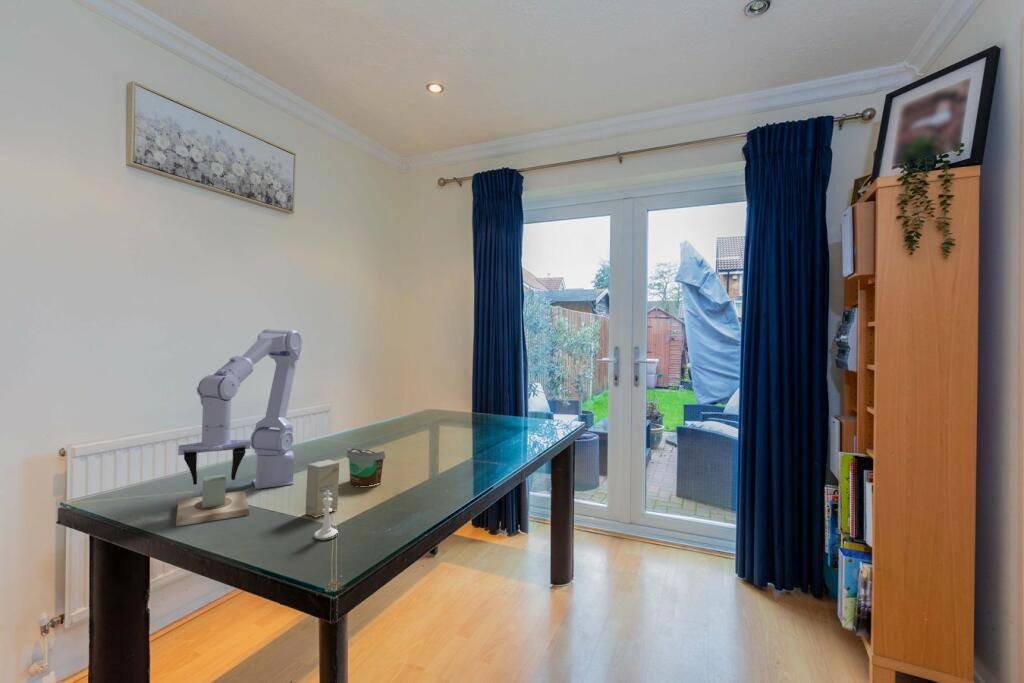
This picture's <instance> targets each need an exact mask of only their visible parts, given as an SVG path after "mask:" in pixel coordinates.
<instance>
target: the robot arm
mask: <svg viewBox="0 0 1024 683" xmlns="http://www.w3.org/2000/svg"><path fill="white" fill-rule="evenodd" d="M302 346H303V339H302V337H301V334H300V332H299V331H298V330H295V329H291V330H285V329H270V328H264V329H263V330H262V331H261V332H260V333H259V334H257V338H256V341H255V342H254V343H253V345H252V346H250V348H248V350H246V352H244V353H243V355H241V356H239V355H237V356H231V357H230V358H229V360H228V361H227V362H226V364H224V365H223V366H221V368H219V369H217V370H216V371H215V373H214V374H209V375H205V377H203V378H202V379H201V380H200V381H199V383H198V386H197V387H196V392H197V395H198V396H199V398H200V404H201V406H202V420H201V421H202V422H201V423H202V424H201V425H202V426H201V442H196V443H195V442H194V443H188V444H179V445H178V450H177V451H178V453H177V455H178V456H183V460H184V462H185V464H186V465H187V467H188V469H189V471H190V473H191V477H192V484H193V486H195V485H198V472H197V468H198V467H197V460H198V454H199V453H211V452H213V453H214V452H222V451H231V450H232V463H231V464H232V466H231V472H230V473H231V474H230V478H231V481H235V480H236V476H237V472H238V469H239V466H240V464H241V462H242V460H244V457H245V454H246V453H247V452H246V450H250V449H251V448H252V449H253V450H254V454H256V471H255V473H256V474H255V475H256V476H255V478H254V479H253V480H252V482H253V486H254V488H255V490H259V489H267V488H275V487H281V486H282V487H283V486H291V485H293V484H294V466H295V465H294V464H295V458H294V457H295V455H294V451H293V450H290V449H291V447H292V445H293V442H294V436H293V433H294V432H293V430H294V426H293V425H292V423H290V421H288V420H287V413H288V409H289V405H290V404H289V403H290V398H291V393H292V389H293V384H294V380H295V379H294V378H295V373H296V369H297V363H298V361H299V360H300V356H301V350H302ZM266 356H268V357H269V358H271V359H272V360H273V361H274V362H275V364H276V365H275V369H274V373H273V374H274V375H273V379H272V384H271V387H270V388H271V389H270V393H269V398H268V401H267V402H268V403H267V408H266V413H265V416H264V417H263V418H262V419H260V420H259V421H258V422H257V423H256V424H255V427H254V430H253V432H252V433H251V436H250V439H231V414H232V412H231V411H232V399H233V398H235V397H236V395H237V394H238V390H239V387H240V386H241V383H243V382H244V381H245V379H247V378H248V377H249V376H250V375H252V373H253V372H254V365H256V364H257V363H258V362H260V361H261V360H262V359H263V358H265V357H266ZM272 428H273V429H272ZM276 428H277V429H276Z"/></svg>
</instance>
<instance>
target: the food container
mask: <svg viewBox="0 0 1024 683" xmlns="http://www.w3.org/2000/svg"><path fill="white" fill-rule="evenodd" d="M346 458H347V459H348V464H349V466H348V468H349V483H350V485H351V486H352V485H353V487H355V486H358V487H357V488H361V487H360V486H369V485H374V484H377V483H380V484H381V482H382V474H383V467H384V466H383V465H384V460H385V459H386V453H385V450H383V451H379V452H378V451H377V452H374V451H372V450H369V449H364V450H363V449H362V450H361V449H355V446H354V445H353V446H350V447H348V450H347V454H346Z"/></svg>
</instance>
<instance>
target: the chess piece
mask: <svg viewBox="0 0 1024 683" xmlns="http://www.w3.org/2000/svg"><path fill="white" fill-rule="evenodd" d="M329 492H330V490H327V493H324V495H326V498H324V499H323V503H324V507H325V508H324V509H323V510H322V512H323V513H325V515H323V517H324V518H323V521H322V522H323V523H322V527H321V528H320V529H318V530H316V531H315V533H314V535H313V537H314V536H315V537H317V538H328V537H331V536H334V535H335V534H336V533H338V534H339V530H338V529H336V528H335V527H332V526H331V517H330V514H331V513H329V512H332V508H330V506H331V503H332V500H333V499H332V498H329V496H332V493H329ZM332 513H333V512H332Z"/></svg>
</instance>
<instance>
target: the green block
mask: <svg viewBox="0 0 1024 683" xmlns="http://www.w3.org/2000/svg"><path fill="white" fill-rule="evenodd" d="M226 485H227V477H226V474H217V475H210V476H203V477H202V491H201V492H202V493H201V495H202V508H204V507H211V506H218V505H225V493H227V492H226V491H227V490H226V488H227V486H226Z"/></svg>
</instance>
